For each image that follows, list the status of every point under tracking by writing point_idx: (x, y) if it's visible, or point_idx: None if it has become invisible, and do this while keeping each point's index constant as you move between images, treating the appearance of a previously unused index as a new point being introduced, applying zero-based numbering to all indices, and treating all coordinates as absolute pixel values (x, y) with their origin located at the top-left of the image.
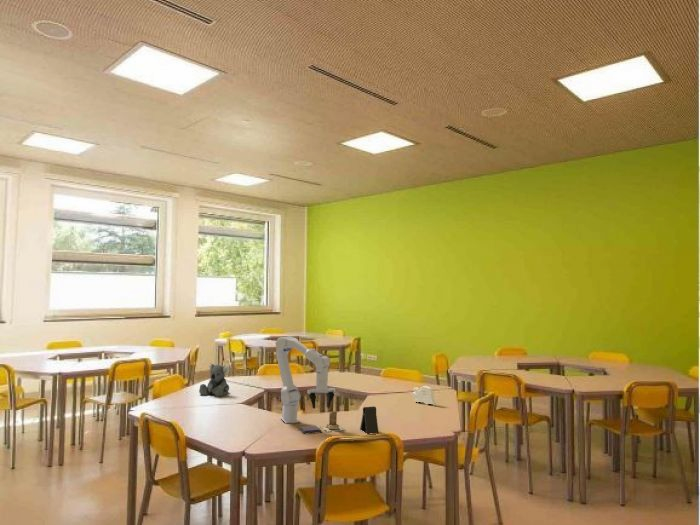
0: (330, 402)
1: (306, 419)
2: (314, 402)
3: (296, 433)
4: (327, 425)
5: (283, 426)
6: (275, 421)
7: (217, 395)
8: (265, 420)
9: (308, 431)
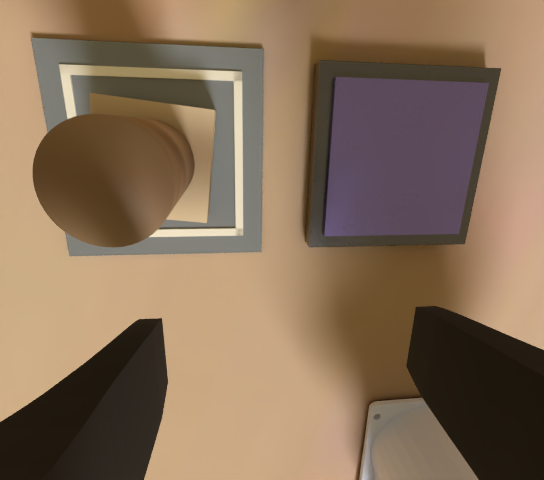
0: (76, 371)
1: (287, 464)
2: (535, 356)
3: (529, 113)
4: (209, 187)
5: (513, 333)
6: None
7: None
8: None
9: (455, 66)
